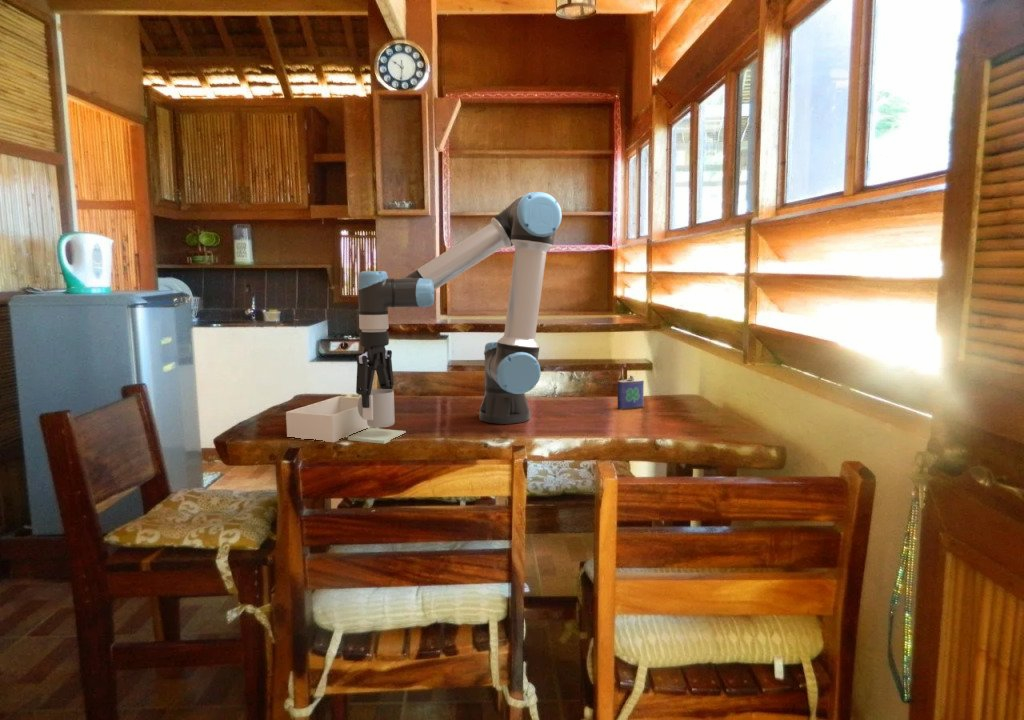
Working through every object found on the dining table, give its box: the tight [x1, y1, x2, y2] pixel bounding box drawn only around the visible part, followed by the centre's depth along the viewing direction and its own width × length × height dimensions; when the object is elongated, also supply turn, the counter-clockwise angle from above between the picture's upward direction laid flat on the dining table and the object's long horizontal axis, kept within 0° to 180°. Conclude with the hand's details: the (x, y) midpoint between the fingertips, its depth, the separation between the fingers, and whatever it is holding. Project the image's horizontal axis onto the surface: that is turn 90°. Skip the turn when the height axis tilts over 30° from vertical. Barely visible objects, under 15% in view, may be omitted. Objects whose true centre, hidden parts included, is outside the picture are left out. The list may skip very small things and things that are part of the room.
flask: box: [617, 374, 645, 411], centre depth 216 cm, size 9×3×11 cm, turn 112°
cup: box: [358, 388, 396, 428], centre depth 181 cm, size 7×10×9 cm
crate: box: [285, 395, 370, 443], centre depth 190 cm, size 15×24×7 cm, turn 159°
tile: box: [347, 427, 407, 445], centre depth 182 cm, size 11×11×1 cm
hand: (376, 416), depth 181 cm, fingers closed on cup, 7 cm apart
